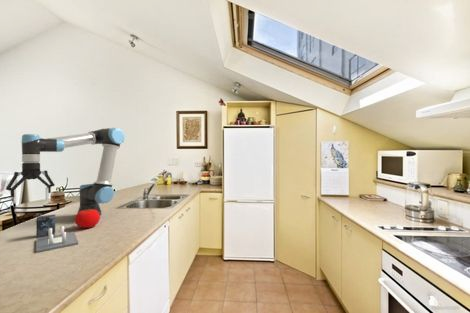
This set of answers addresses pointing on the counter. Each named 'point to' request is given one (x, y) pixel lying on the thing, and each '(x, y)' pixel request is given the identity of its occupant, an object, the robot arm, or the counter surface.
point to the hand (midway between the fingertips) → (31, 200)
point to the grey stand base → (56, 240)
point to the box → (45, 225)
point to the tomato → (87, 218)
